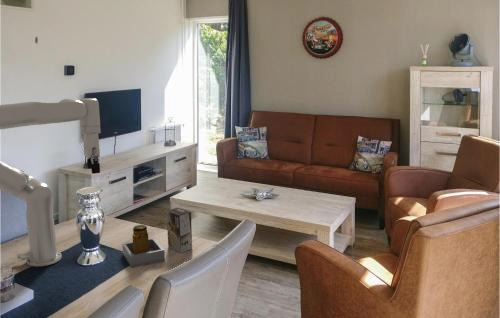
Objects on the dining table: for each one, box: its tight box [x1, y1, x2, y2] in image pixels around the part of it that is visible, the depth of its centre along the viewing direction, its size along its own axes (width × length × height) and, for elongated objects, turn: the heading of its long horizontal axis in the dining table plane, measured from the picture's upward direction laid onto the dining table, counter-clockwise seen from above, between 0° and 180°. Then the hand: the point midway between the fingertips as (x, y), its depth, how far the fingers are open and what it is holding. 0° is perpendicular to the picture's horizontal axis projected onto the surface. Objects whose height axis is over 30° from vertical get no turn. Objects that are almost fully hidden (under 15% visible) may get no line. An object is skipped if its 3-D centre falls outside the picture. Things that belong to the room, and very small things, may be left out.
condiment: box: [132, 224, 151, 255], centre depth 182 cm, size 7×8×12 cm
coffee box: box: [166, 207, 193, 253], centre depth 191 cm, size 9×6×16 cm
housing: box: [122, 237, 166, 269], centre depth 183 cm, size 13×14×4 cm
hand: (93, 170), depth 190 cm, fingers open, 9 cm apart
